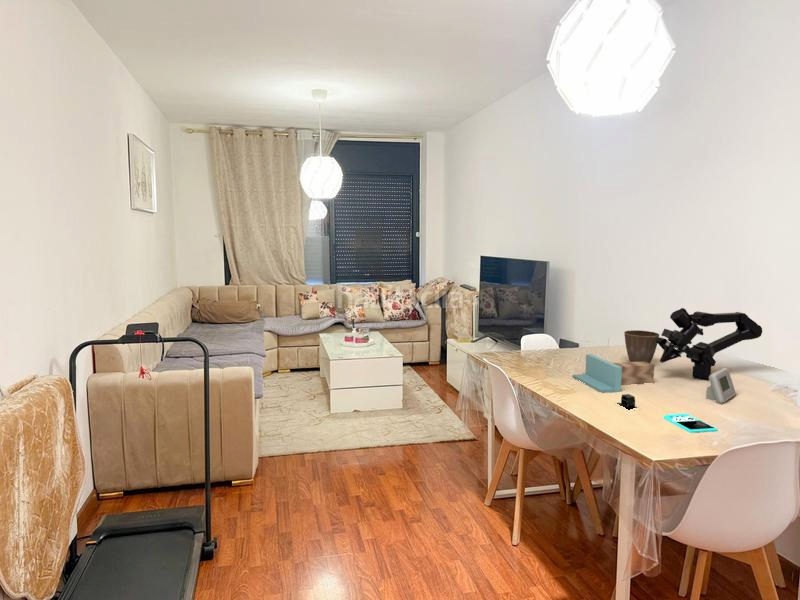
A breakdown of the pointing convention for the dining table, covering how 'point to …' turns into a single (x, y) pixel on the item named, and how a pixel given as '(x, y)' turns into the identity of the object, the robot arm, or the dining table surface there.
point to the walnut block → (636, 372)
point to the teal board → (601, 374)
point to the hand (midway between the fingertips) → (660, 361)
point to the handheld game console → (689, 423)
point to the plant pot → (640, 345)
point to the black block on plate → (627, 401)
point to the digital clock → (720, 386)
